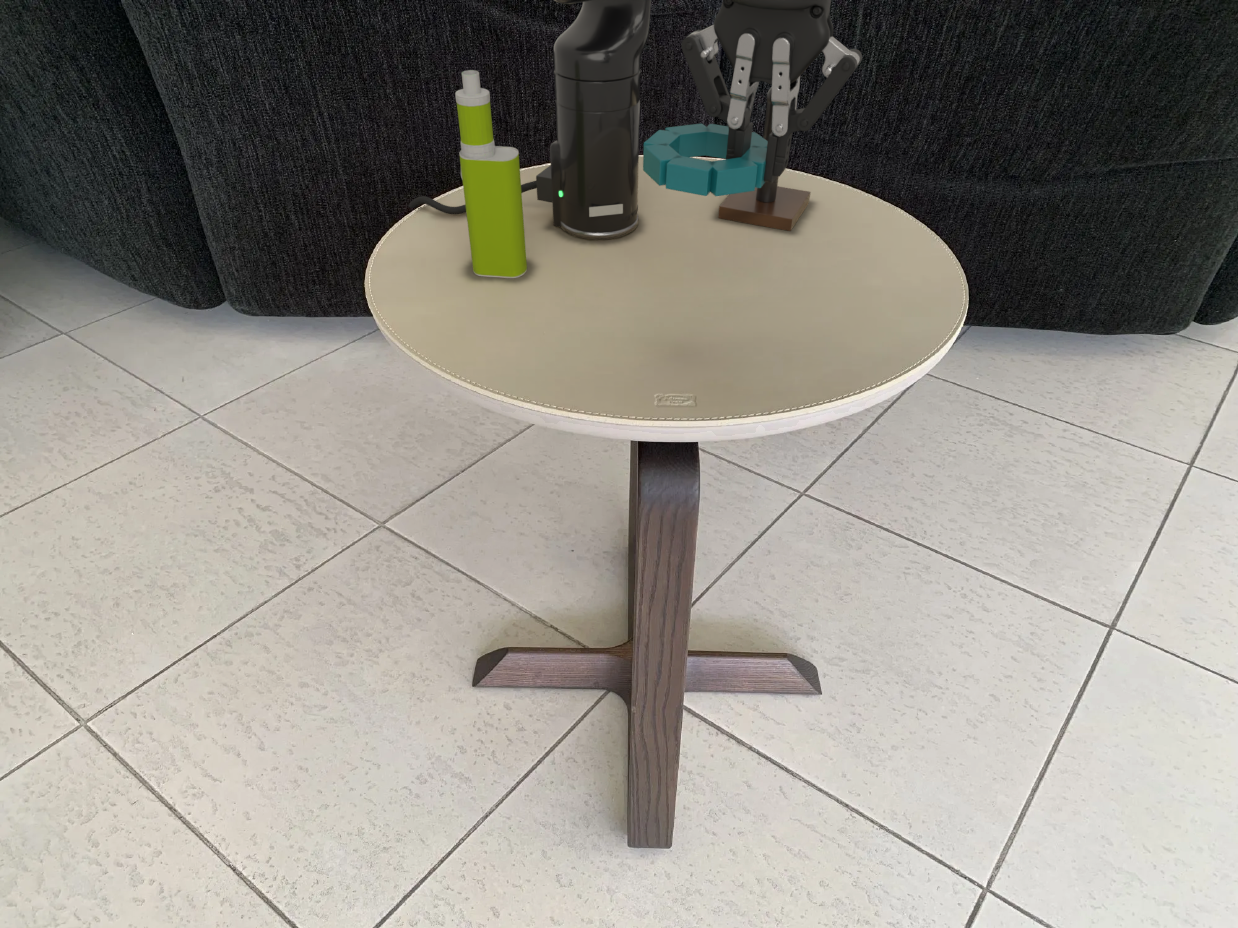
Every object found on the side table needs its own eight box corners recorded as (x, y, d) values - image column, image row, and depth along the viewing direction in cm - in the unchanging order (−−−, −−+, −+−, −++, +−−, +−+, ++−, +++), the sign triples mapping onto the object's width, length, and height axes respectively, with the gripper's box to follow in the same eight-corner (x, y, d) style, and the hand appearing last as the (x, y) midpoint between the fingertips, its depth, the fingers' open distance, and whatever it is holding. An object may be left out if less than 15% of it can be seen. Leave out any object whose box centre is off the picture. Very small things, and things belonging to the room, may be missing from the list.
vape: (477, 259, 92) (455, 66, 79) (530, 263, 92) (516, 69, 79) (468, 275, 89) (443, 77, 77) (522, 279, 89) (507, 80, 76)
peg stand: (718, 218, 101) (729, 90, 92) (740, 191, 107) (752, 69, 98) (790, 231, 98) (809, 101, 89) (808, 203, 105) (828, 79, 95)
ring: (626, 181, 66) (627, 156, 65) (672, 141, 73) (673, 117, 71) (747, 204, 63) (750, 178, 62) (783, 160, 70) (787, 135, 68)
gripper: (901, -80, 56) (850, 175, 67) (706, -95, 60) (689, 147, 71) (880, -63, 50) (829, 210, 62) (668, -81, 55) (656, 178, 66)
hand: (754, 175), depth 66 cm, fingers closed on ring, 2 cm apart
